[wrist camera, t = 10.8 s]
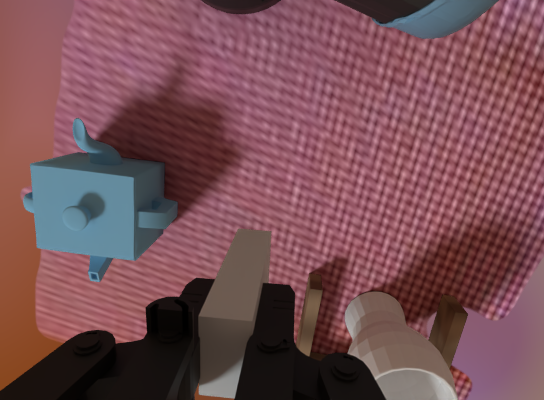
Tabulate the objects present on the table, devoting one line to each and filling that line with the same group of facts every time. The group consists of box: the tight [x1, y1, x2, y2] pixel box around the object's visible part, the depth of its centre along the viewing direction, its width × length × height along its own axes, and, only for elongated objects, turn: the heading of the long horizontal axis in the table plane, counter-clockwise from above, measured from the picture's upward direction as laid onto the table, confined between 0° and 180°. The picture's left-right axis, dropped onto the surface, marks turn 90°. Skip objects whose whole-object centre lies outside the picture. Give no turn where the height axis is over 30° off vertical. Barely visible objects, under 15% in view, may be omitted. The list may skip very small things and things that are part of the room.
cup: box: [345, 292, 458, 400], centre depth 41 cm, size 11×11×15 cm
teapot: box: [23, 118, 178, 282], centre depth 40 cm, size 16×18×11 cm
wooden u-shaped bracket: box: [296, 273, 468, 369], centre depth 47 cm, size 14×19×4 cm
